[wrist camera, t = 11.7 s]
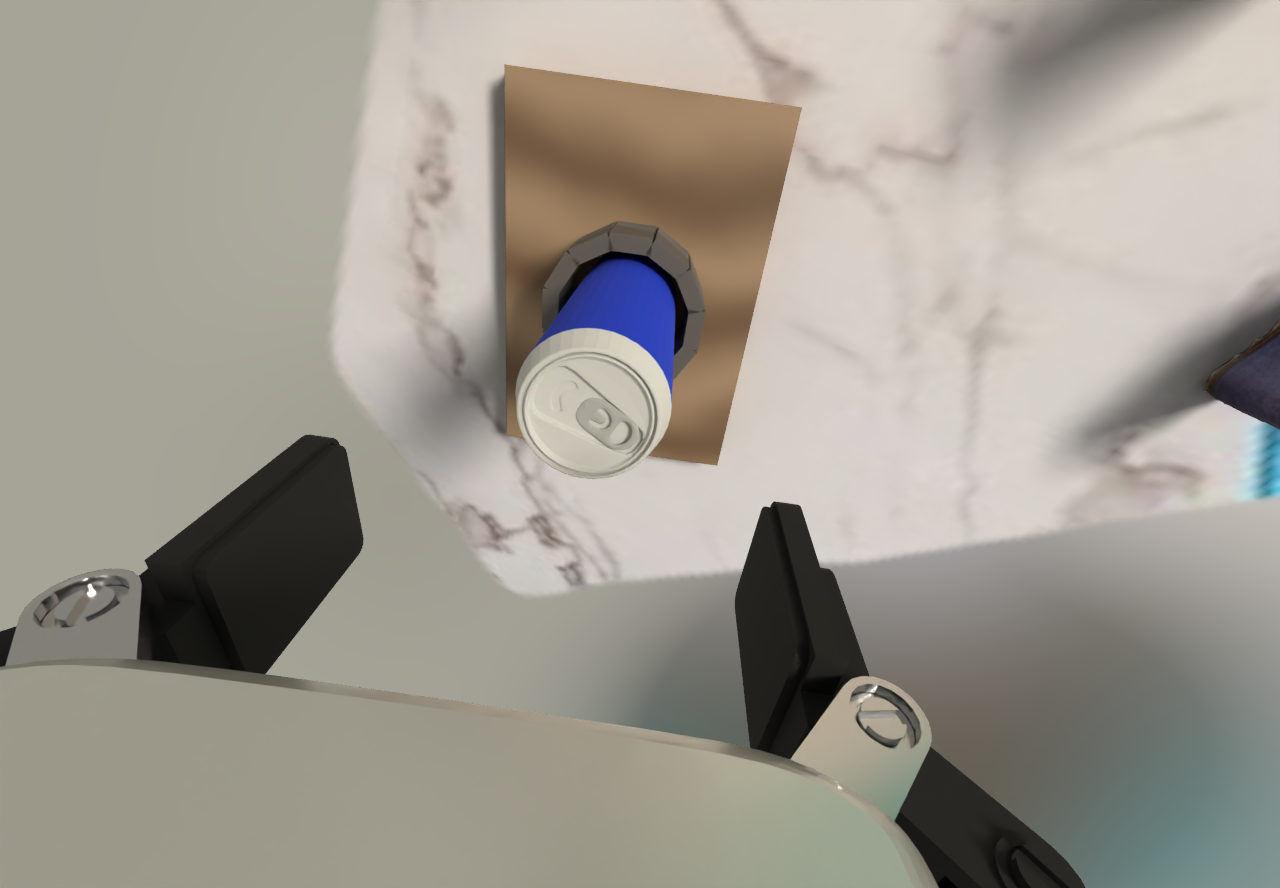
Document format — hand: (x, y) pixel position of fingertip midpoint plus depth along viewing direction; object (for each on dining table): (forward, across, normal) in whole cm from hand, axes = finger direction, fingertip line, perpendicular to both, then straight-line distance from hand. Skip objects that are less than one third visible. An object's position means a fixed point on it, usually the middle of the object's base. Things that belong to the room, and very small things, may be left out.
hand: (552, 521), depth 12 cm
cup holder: (+22, 0, 0) cm, 22 cm away
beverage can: (+20, 0, 0) cm, 20 cm away
